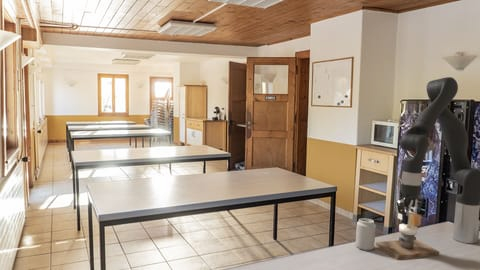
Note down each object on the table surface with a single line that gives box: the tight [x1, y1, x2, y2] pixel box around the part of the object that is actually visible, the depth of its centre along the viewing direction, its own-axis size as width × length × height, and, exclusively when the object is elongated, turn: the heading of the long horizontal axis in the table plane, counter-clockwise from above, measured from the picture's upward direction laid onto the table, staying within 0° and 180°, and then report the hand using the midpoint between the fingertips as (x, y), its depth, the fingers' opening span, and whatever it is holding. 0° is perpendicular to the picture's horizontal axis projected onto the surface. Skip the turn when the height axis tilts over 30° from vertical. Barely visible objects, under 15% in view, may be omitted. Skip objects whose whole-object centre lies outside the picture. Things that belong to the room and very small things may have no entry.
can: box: [355, 217, 377, 251], centre depth 159 cm, size 8×8×12 cm
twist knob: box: [397, 209, 422, 236], centre depth 157 cm, size 10×7×8 cm
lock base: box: [375, 233, 440, 260], centre depth 157 cm, size 20×14×8 cm
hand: (408, 223), depth 157 cm, fingers closed on twist knob, 3 cm apart
